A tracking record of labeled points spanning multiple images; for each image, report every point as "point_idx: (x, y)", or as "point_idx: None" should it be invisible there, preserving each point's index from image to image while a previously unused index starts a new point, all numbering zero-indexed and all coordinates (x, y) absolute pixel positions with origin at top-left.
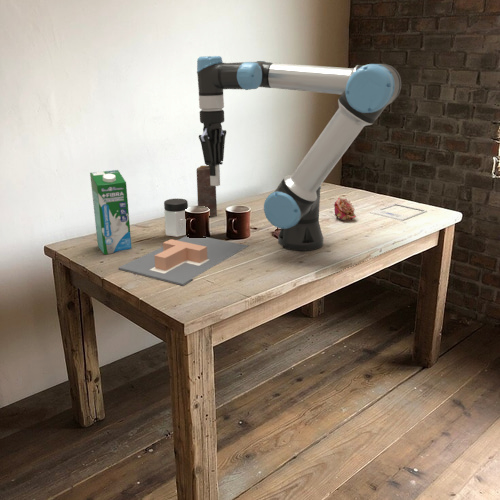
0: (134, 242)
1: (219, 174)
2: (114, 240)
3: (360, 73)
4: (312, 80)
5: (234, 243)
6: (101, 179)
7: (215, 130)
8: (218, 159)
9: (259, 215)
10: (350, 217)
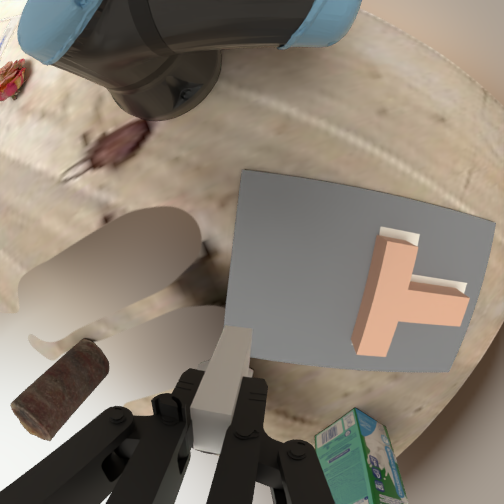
0: (310, 423)
1: (212, 362)
2: (379, 436)
3: None
4: None
5: (241, 215)
6: None
7: None
8: (177, 444)
9: (39, 251)
10: (24, 62)
